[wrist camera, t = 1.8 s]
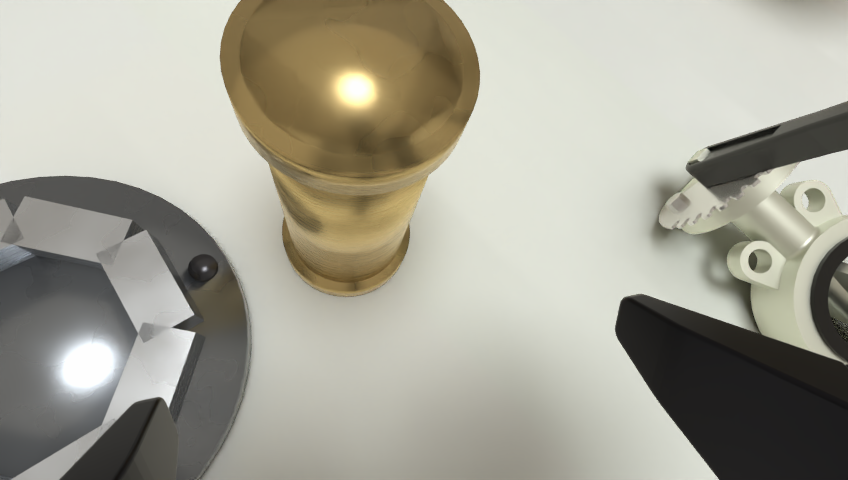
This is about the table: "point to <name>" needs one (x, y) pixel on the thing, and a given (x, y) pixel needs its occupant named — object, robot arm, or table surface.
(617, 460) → the table surface
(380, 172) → the gold flared cylinder
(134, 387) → the flange
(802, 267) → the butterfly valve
